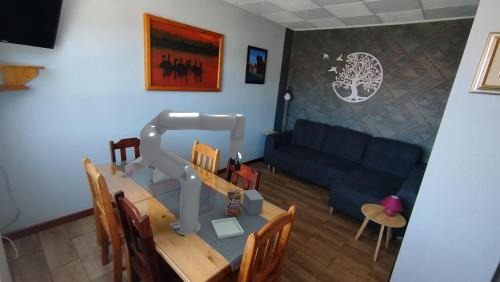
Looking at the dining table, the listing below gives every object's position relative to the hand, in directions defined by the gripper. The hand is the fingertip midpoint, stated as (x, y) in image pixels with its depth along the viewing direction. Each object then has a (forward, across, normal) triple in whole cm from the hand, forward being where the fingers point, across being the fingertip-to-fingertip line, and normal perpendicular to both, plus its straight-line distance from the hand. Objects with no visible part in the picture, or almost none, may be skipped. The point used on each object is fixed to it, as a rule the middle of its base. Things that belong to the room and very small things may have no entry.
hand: (234, 167), depth 125 cm
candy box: (+32, -5, +3) cm, 32 cm away
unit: (+32, -8, +16) cm, 36 cm away
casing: (+31, -69, -47) cm, 89 cm away
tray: (+32, +9, -4) cm, 33 cm away
